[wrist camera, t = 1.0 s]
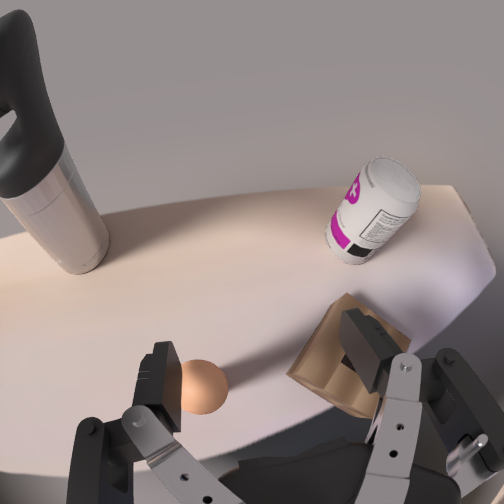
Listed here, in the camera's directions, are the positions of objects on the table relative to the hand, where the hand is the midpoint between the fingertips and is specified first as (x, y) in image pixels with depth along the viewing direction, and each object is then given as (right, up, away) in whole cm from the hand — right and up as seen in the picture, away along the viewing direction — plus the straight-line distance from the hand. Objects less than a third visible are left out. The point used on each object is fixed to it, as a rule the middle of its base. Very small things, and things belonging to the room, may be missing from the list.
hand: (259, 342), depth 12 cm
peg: (-5, -11, +16) cm, 20 cm away
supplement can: (+14, +5, +28) cm, 32 cm away
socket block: (+11, -10, +19) cm, 25 cm away
